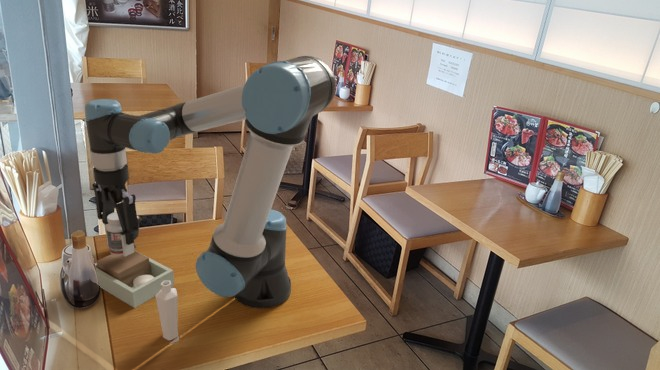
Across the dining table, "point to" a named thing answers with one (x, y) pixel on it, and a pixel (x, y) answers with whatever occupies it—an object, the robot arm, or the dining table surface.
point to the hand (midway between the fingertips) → (121, 249)
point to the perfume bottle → (168, 311)
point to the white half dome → (141, 280)
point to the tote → (140, 293)
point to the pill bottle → (114, 234)
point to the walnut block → (125, 267)
